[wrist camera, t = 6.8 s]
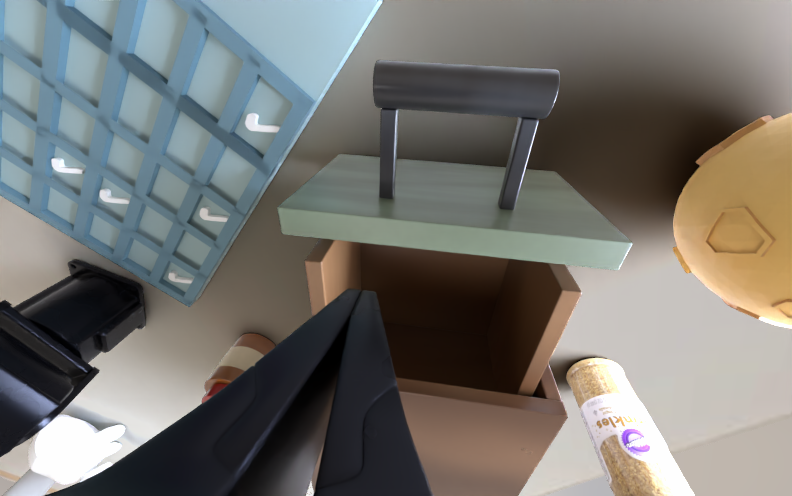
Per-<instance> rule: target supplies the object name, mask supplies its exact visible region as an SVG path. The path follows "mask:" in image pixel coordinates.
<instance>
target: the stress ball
mask: <svg viewBox="0 0 792 496" xmlns="http://www.w3.org/2000/svg"><path fill="white" fill-rule="evenodd" d="M696 163H697V164H699V165H700V167H699V168H698V169H697V170H696V172H695V173H694V174H693V175H692V177H691V178H690V179H689V181H688V182H687V184H686V185H685V187H684V188H683V190H682V192H681V195H680V197H679V199H678V201H677V205H676V209H675V212H674V221H673V228H674V237H675V241H676V244H677V246H676V247H673V251H674V253H675V255H676V257H677V258H678V260H679V262H680V264H681V265H682V267H683V269H684V270H685V272H686V273H691V272H692V273H693V274H694V275H695V276H696V277H697V278H698V279H699V280H700V281H701V282H702V283H703V284H704V285H705V286H706V287H707V288H709V289H710V290H711V291H713V292H714V293H715V294H717V295H718V296H720V297H721V298H722V300H723V301H724V302H725V303H726V304H727V305H728V306H730V307H732V308H734V309H736V310H738V311H740V312H743V313H745V314H747V315H750V316H752V317H754V318H757V319H759V320H762V321H764V322H767V323H770V324H773V325H777V326H782V327H787V328H792V112H791V113H788V114H786V115H783V116H781V117H778V118H775V119H774V118H773V117H771V116H770V115H767V116H763V117H761V118H759V119H757V120H755V121H754V122H752V123H750V124H749V125H747V126H745V127H743V128H742V129H740V130H738V131H736V132H735V133H734V134H732V135H731V136H729V137H728V138H726V139H725V140H724V141H722V142H721V143H719V144H718V145H716V146H714V147H713V148H711V149H709V150H708V151H707V152H706V153H705V154H703V155H702V156H701V157H700V158H699V159H698V160H697V161H696Z"/></svg>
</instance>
